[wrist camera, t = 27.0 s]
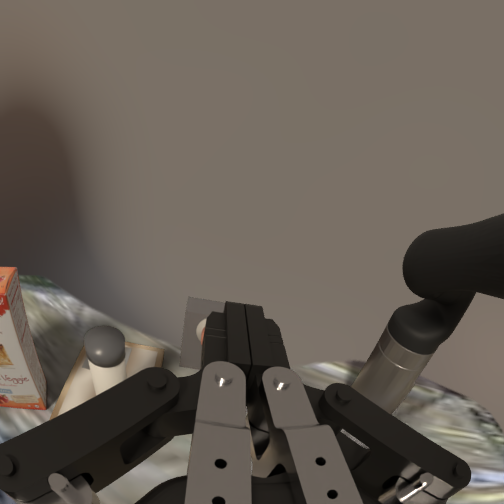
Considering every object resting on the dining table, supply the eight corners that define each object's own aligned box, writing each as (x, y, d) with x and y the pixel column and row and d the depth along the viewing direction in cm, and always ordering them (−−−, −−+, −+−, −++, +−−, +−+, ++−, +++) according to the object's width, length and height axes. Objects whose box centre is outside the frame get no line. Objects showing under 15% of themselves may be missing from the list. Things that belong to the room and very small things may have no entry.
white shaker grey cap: (134, 402, 34) (129, 330, 29) (128, 428, 30) (118, 359, 25) (104, 395, 33) (92, 321, 28) (96, 419, 29) (77, 348, 24)
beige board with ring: (163, 355, 47) (164, 348, 46) (146, 453, 28) (145, 448, 28) (91, 339, 44) (90, 332, 44) (52, 425, 26) (48, 419, 26)
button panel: (235, 358, 51) (249, 306, 46) (236, 374, 47) (252, 322, 42) (181, 350, 49) (188, 296, 45) (179, 367, 45) (185, 312, 41)
